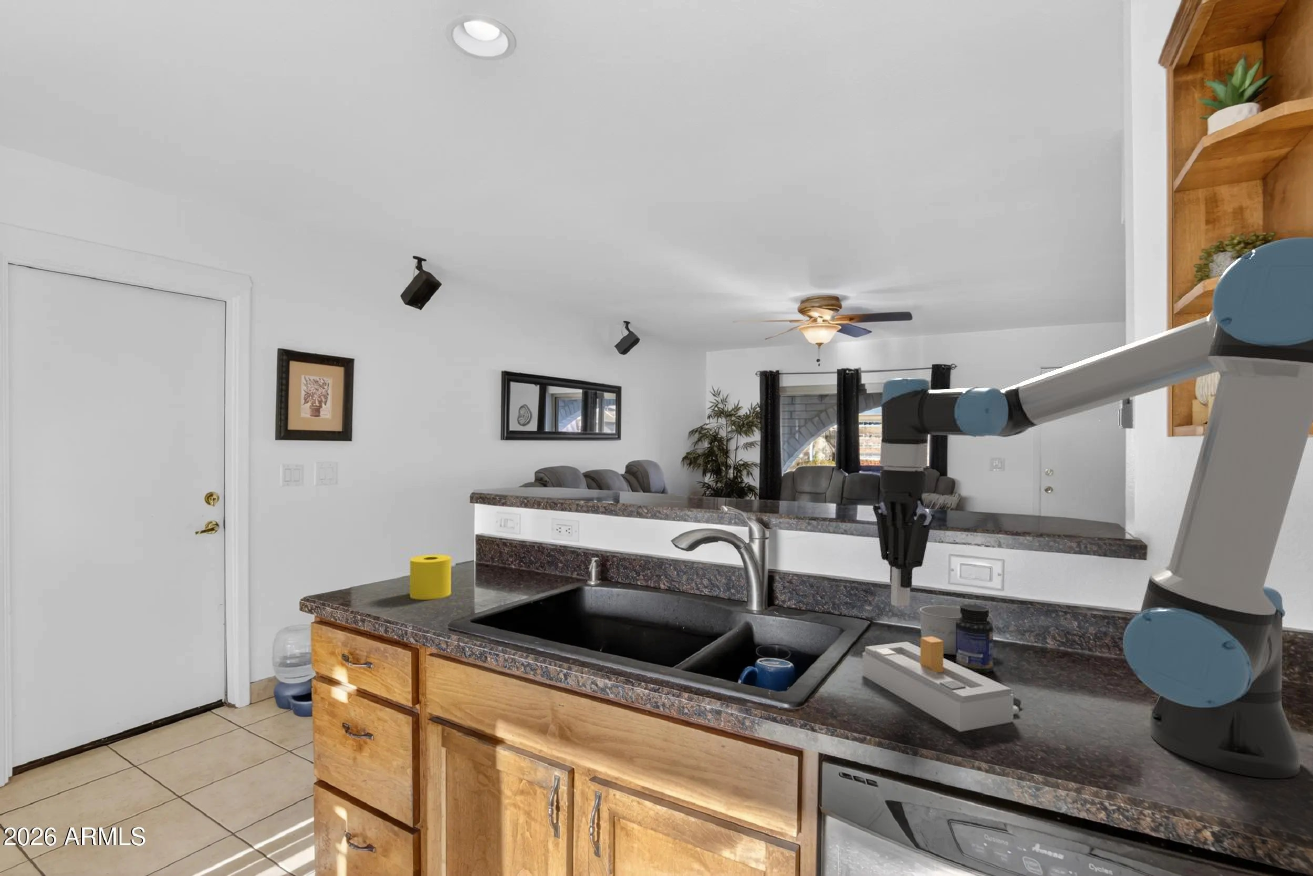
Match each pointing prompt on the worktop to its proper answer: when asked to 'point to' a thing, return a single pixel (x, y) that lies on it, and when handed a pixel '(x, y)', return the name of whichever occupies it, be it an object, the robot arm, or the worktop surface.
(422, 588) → the yellow toilet paper roll
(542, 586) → the worktop surface
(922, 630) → the teacup
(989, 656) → the pill bottle
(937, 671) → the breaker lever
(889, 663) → the slider switch box
